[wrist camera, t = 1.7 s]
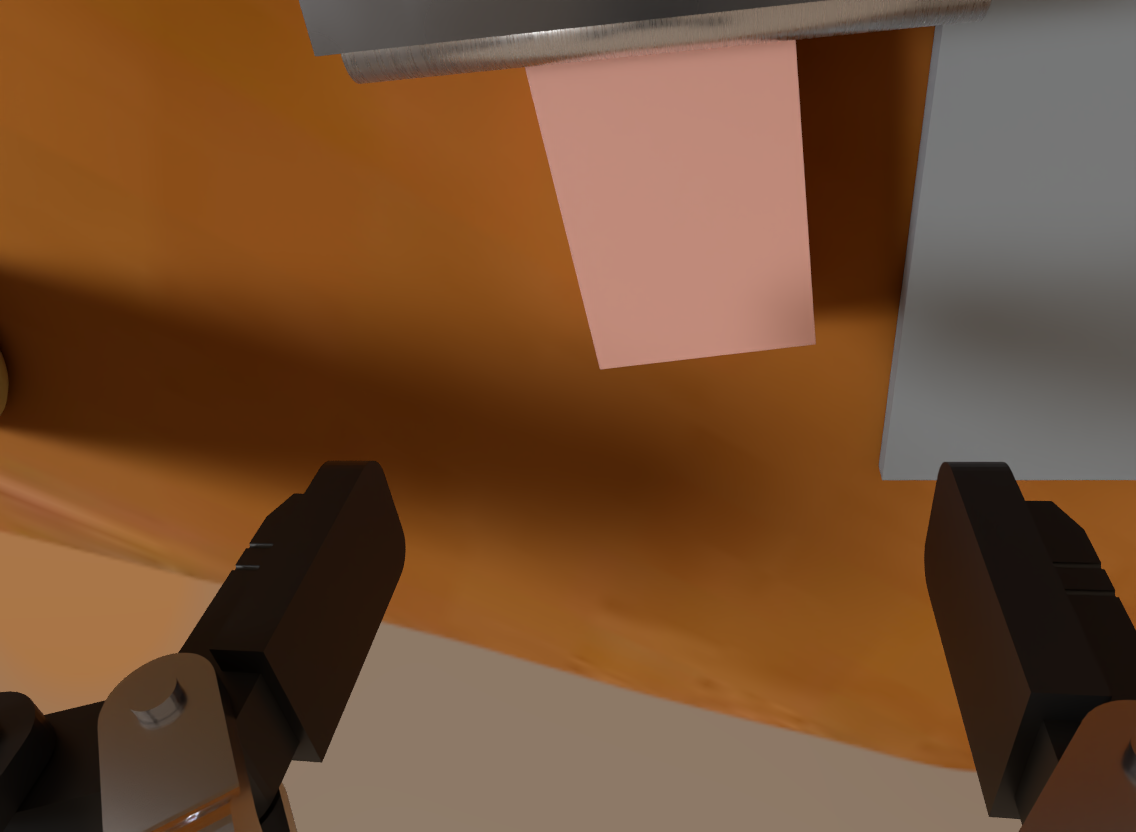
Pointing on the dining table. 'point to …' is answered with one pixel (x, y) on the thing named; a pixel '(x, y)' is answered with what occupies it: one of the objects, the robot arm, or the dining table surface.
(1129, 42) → the mat
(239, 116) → the dining table surface
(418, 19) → the dispenser
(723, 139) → the pink block
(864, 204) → the dining table surface
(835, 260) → the dining table surface
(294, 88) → the dining table surface
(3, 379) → the bark print canister
